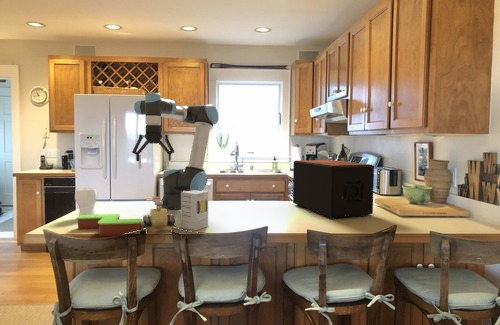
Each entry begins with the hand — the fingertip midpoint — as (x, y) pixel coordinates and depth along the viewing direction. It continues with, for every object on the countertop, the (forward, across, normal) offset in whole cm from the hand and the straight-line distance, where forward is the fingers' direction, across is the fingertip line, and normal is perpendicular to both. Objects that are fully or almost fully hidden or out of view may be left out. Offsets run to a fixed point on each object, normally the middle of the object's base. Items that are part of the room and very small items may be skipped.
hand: (153, 167), depth 181 cm
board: (+27, +1, +14) cm, 30 cm away
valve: (+26, +1, +14) cm, 30 cm away
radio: (+27, -98, +17) cm, 103 cm away
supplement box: (+27, -14, +20) cm, 37 cm away
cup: (+27, +30, -24) cm, 47 cm away
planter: (+28, +22, +9) cm, 36 cm away
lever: (+16, +1, +9) cm, 18 cm away
